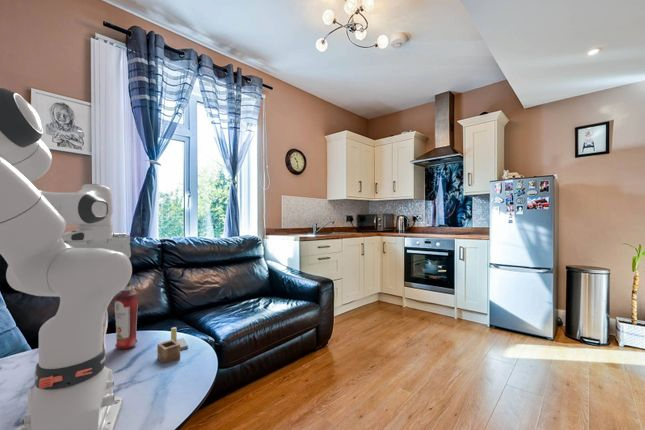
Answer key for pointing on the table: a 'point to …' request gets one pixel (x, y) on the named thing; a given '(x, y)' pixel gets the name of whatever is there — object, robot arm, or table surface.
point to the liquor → (126, 318)
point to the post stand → (181, 341)
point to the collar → (168, 351)
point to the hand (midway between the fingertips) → (95, 276)
